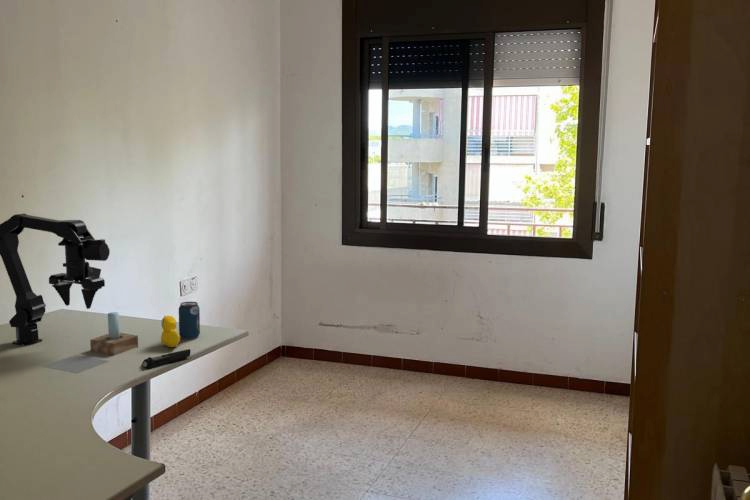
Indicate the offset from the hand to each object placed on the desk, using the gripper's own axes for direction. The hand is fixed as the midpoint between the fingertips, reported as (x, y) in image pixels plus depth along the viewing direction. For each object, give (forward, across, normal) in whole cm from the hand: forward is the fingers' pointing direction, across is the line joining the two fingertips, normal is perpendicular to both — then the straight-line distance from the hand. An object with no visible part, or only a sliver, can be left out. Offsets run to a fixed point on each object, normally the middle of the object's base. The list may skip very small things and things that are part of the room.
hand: (78, 306), depth 204 cm
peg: (+13, -13, -2) cm, 18 cm away
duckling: (+13, -26, -13) cm, 32 cm away
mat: (+13, -14, +14) cm, 24 cm away
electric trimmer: (+14, -36, +1) cm, 39 cm away
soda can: (+13, -25, -24) cm, 37 cm away
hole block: (+13, -13, -2) cm, 18 cm away
